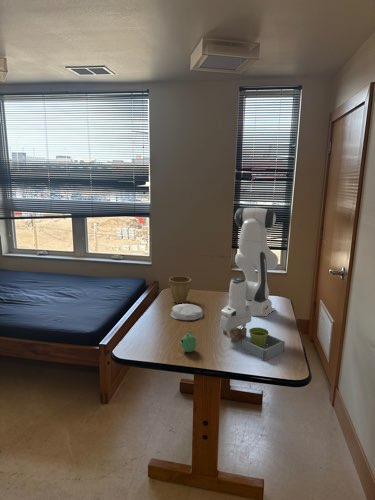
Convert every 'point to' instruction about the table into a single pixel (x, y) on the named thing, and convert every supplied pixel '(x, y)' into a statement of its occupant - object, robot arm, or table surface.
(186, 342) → the alien toy
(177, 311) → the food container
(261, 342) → the plant pot
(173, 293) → the plant pot
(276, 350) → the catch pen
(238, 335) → the wooden angled block
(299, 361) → the table surface
